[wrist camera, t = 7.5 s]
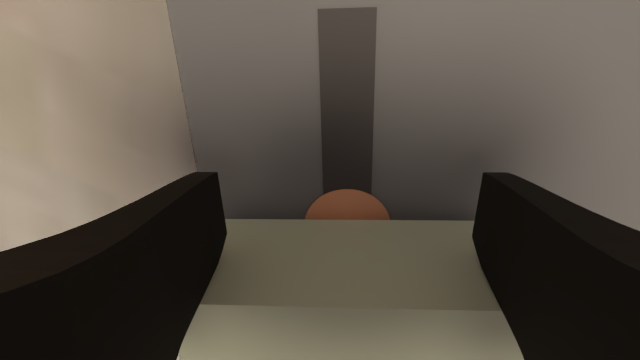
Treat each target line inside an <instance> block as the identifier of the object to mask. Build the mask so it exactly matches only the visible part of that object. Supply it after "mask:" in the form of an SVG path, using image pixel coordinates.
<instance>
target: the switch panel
mask: <svg viewBox="0 0 640 360" xmlns="http://www.w3.org/2000/svg"><path fill="white" fill-rule="evenodd" d="M166 3H167V9H168V14H169V20H170V25H171V31H172V36H173V42H174V47H175V52H176V58H177V63H178V69H179V74H180V80H181V85H182V91H183V96H184V102H185V107H186V112H187V118H188V123H189V129H190V134H191V140H192V145H193V151H194V156H195V161H196V167H197V172H218V179H219V185H220V191H221V197H222V204H223V210H224V216H225V219H309V220H450V221H475V215H476V209H477V204H478V198H479V192H480V186H481V181H482V175H483V172H507V173H511V174H514V175H516V176H519V177H521V178H523V179H525V180H528V181H530V182H532V183H534V184H536V185H538V186H540V187H542V188H544V189H546V190H548V191H550V192H552V193H554V194H556V195H558V196H561V197H563V198H565V199H567V200H569V201H571V202H573V203H575V204H577V205H579V206H582V207H584V208H586V209H588V210H590V211H592V212H595V213H597V214H599V215H602V216H604V217H606V218H609V219H611V220H613V221H616V222H618V223H620V224H623V225H626V226H628V227H631V228H633V229H636V230H639V231H640V0H166Z"/></svg>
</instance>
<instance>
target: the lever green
mask: <svg viewBox="0 0 640 360" xmlns="http://www.w3.org/2000/svg"><path fill="white" fill-rule="evenodd" d="M225 222H226V229H227V236H226V240H225V243H224V247H223V251H222V254H221V257H220V260H219V263H218V265H217V268H216V270H215V272H214V274H213V277H212V279H211V281H210V283H209V285H208V287H207V289H206V292H205V294H204V296H203V298H202V300H201V302H200V304H199V306H198V309H197V311H196V313H195V315H194V317H193V319H192V321H191V323H190V326H189V328H188V330H187V332H186V335H185V337H184V340H183V342H182V344H181V347H180V350H179V355H180V359H181V360H524V358H523V355H522V353H521V350H520V348H519V346H518V343H517V341H516V339H515V337H514V335H513V333H512V330H511V328H510V326H509V324H508V322H507V320H506V318H505V316H504V314H503V312H502V310H501V308H500V306H499V304H498V302H497V300H496V298H495V296H494V293H493V291H492V289H491V287H490V285H489V283H488V281H487V279H486V277H485V275H484V272H483V270H482V268H481V265H480V262H479V259H478V256H477V253H476V249H475V246H474V242H473V239H472V232H473V226H474V221H450V220H309V219H225Z"/></svg>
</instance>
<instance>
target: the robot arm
mask: <svg viewBox="0 0 640 360" xmlns="http://www.w3.org/2000/svg"><path fill="white" fill-rule="evenodd" d="M226 236H227V229H226V222H225V216H224V210H223V204H222V197H221V191H220V185H219V179H218V172H194V173H191V174H189V175H186V176H184V177H182V178H180V179H178V180H176V181H174V182H172V183H170V184H168V185H166V186H164V187H162V188H160V189H158V190H156V191H154V192H153V193H151V194H149V195H147V196H145V197H143V198H141V199H139V200H137V201H135V202H133V203H131V204H128V205H126V206H124V207H122V208H120V209H118V210H116V211H114V212H112V213H109V214H107V215H105V216H103V217H101V218H98V219H96V220H94V221H91V222H89V223H86V224H84V225H81V226H78V227H76V228H73V229H70V230H68V231H65V232H63V233H60V234H57V235H54V236H51V237H48V238H44V239H41V240H38V241H35V242H32V243H28V244H25V245H22V246H19V247H15V248H12V249H9V250H5V251H2V252H0V360H176V359H177V356H178V353H179V350H180V347H181V344H182V342H183V340H184V337H185V335H186V332H187V330H188V328H189V326H190V323H191V321H192V319H193V317H194V315H195V313H196V311H197V309H198V306H199V304H200V302H201V300H202V298H203V296H204V294H205V292H206V289H207V287H208V285H209V283H210V281H211V279H212V277H213V274H214V272H215V270H216V268H217V265H218V263H219V260H220V257H221V254H222V251H223V247H224V243H225V240H226ZM472 239H473V242H474V246H475V249H476V253H477V256H478V259H479V262H480V265H481V268H482V270H483V272H484V275H485V277H486V279H487V281H488V283H489V285H490V287H491V289H492V291H493V293H494V296H495V298H496V300H497V302H498V304H499V306H500V308H501V310H502V312H503V314H504V316H505V318H506V320H507V322H508V324H509V326H510V328H511V330H512V333H513V335H514V337H515V339H516V341H517V343H518V346H519V348H520V350H521V353H522V355H523V358H524V360H640V231H639V230H636V229H633V228H631V227H628V226H626V225H623V224H620V223H618V222H616V221H613V220H611V219H609V218H606V217H604V216H602V215H599V214H597V213H595V212H592V211H590V210H588V209H586V208H584V207H582V206H579V205H577V204H575V203H573V202H571V201H569V200H567V199H565V198H563V197H561V196H558V195H556V194H554V193H552V192H550V191H548V190H546V189H544V188H542V187H540V186H538V185H536V184H534V183H532V182H530V181H528V180H525V179H523V178H521V177H519V176H516V175H514V174H511V173H507V172H483V175H482V181H481V186H480V192H479V198H478V204H477V209H476V215H475V221H474V226H473V232H472Z"/></svg>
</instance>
